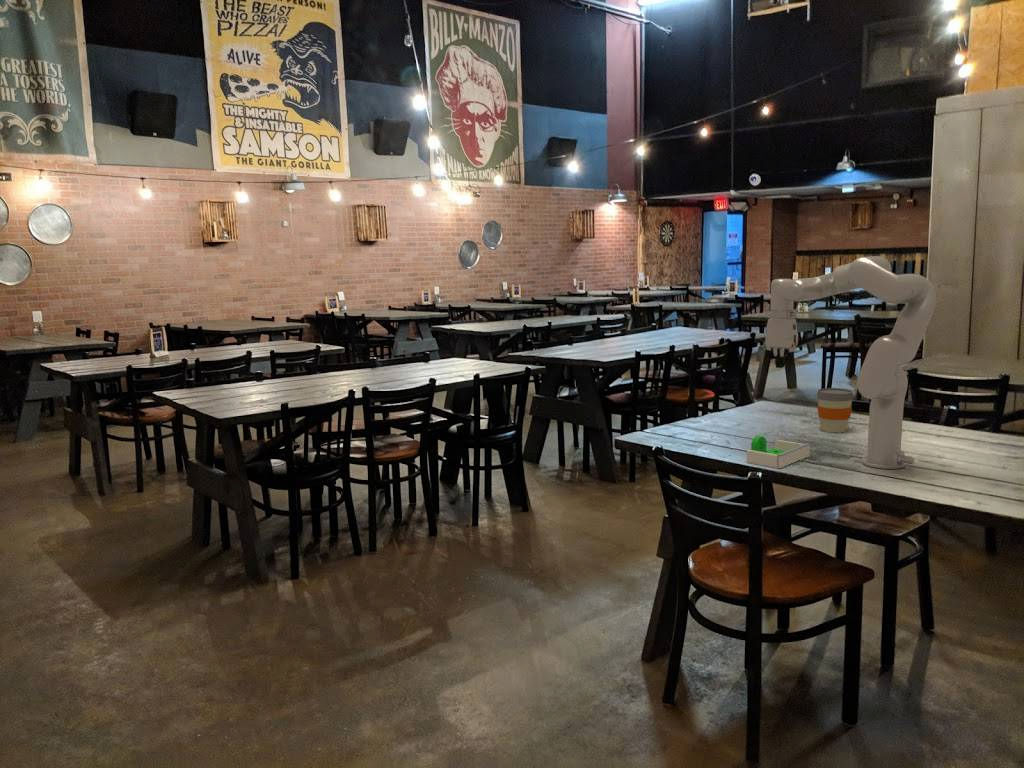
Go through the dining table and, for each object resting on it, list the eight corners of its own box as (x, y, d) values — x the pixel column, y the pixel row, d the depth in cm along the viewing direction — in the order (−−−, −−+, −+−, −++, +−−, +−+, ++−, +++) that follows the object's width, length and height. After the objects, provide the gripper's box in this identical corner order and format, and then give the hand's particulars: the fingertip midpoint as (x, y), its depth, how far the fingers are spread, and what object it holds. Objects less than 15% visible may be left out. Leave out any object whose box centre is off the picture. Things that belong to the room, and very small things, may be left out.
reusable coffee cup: (857, 433, 289) (859, 393, 287) (822, 434, 290) (824, 394, 287) (843, 426, 302) (845, 387, 299) (810, 426, 302) (812, 388, 300)
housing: (809, 456, 260) (809, 443, 259) (780, 468, 247) (780, 455, 246) (776, 450, 269) (776, 438, 268) (746, 462, 255) (746, 449, 255)
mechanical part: (766, 464, 253) (767, 440, 252) (750, 460, 258) (751, 437, 257) (788, 457, 261) (789, 434, 259) (772, 454, 265) (773, 431, 264)
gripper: (807, 315, 269) (805, 368, 272) (767, 313, 279) (765, 364, 282) (797, 316, 264) (795, 370, 267) (756, 314, 274) (755, 366, 277)
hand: (780, 367), depth 274 cm, fingers closed
